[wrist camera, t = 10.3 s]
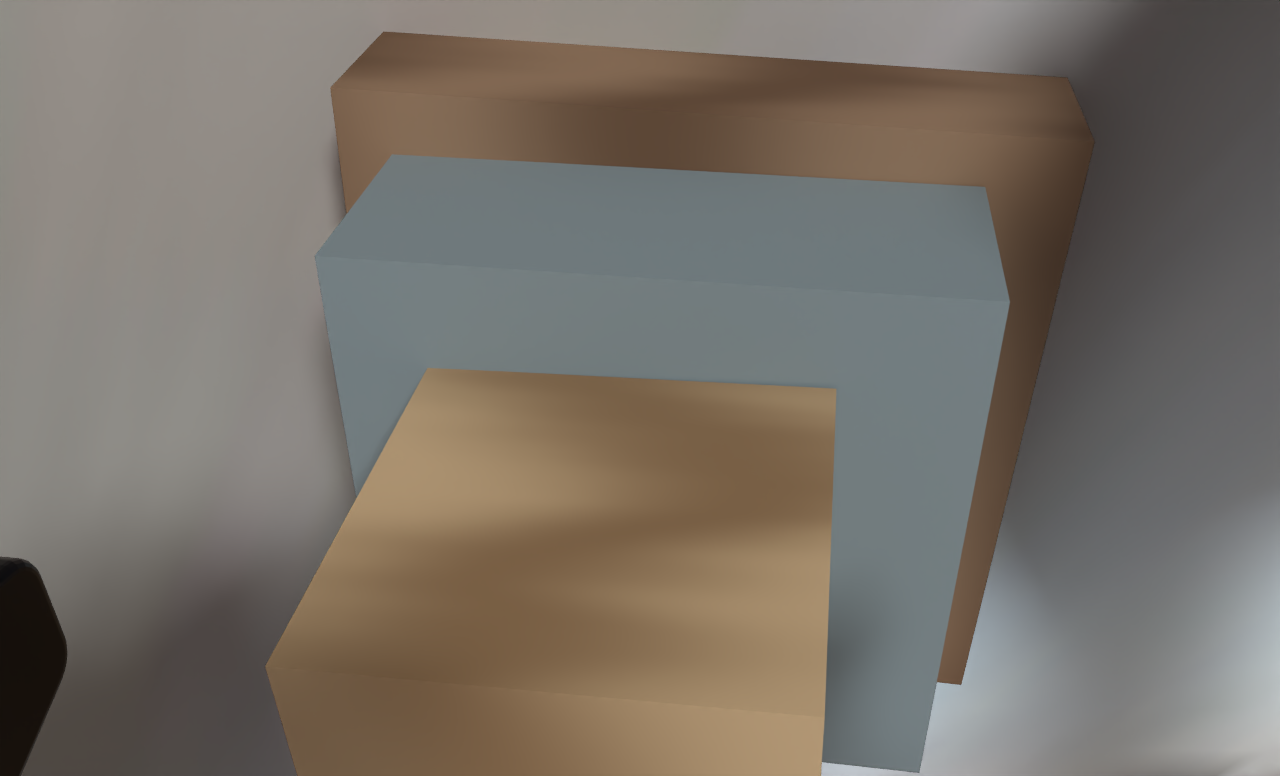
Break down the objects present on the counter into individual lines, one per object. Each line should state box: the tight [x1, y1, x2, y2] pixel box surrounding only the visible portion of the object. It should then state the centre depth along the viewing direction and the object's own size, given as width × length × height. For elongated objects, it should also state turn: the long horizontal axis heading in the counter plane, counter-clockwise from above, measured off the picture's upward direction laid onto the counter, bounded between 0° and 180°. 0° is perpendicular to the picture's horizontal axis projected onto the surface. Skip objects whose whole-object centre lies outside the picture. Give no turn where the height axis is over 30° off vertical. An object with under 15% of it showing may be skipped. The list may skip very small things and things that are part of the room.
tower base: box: [330, 32, 1095, 685], centre depth 20 cm, size 10×10×3 cm
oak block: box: [265, 368, 836, 776], centre depth 14 cm, size 5×5×5 cm
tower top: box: [315, 154, 1010, 773], centre depth 17 cm, size 8×8×3 cm
